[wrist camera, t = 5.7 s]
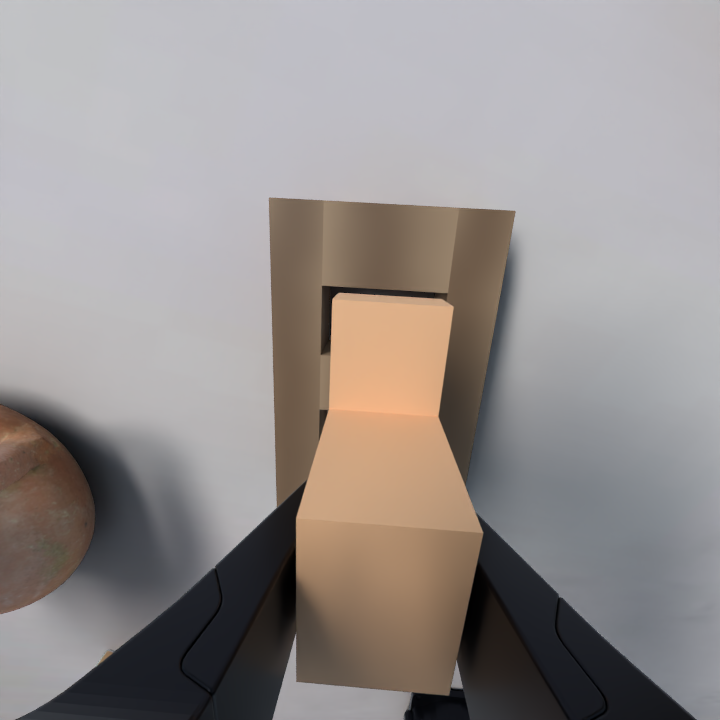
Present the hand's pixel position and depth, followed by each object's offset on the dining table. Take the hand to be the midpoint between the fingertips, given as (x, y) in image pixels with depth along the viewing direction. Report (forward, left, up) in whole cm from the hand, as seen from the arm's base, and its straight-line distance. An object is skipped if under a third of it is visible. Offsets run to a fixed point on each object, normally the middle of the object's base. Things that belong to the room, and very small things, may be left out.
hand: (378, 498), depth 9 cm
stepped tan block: (0, 0, -6) cm, 6 cm away
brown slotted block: (0, 0, -11) cm, 11 cm away
